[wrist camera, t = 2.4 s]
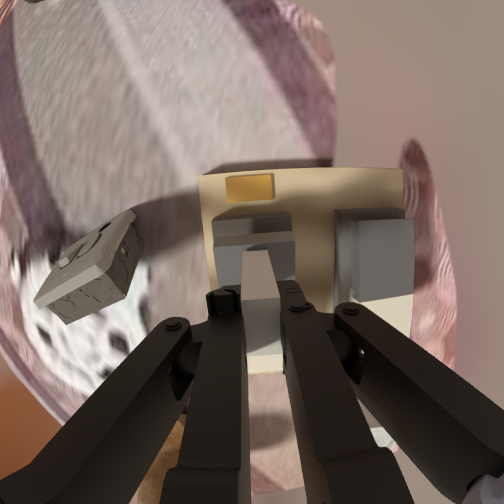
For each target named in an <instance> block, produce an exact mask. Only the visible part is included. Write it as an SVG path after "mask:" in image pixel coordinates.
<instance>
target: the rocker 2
mask: <svg viewBox="0 0 504 504" xmlns="http://www.w3.org/2000/svg"><path fill="white" fill-rule="evenodd" d="M350 224H351V245H352V287H351V288H350V289H349V301H350V302H355V303H359V304H362V305H364V306H365V307H367V308H368V309H370V310H371V311H372V312H374V313H375V314H376V315H378V316H379V317H381V318H382V319H383V320H385V321H386V322H388V323H389V324H390V325H392V326H393V327H394V328H396V329H397V330H399V331H400V332H401V333H403V334H404V335H405V336H407V337H408V338H409V335H410V327H411V317H412V306H413V292H414V268H415V236H414V219H380V220H359V221H350ZM362 353H363V351H362ZM363 354H364V353H363Z"/></svg>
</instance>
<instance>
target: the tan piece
mask: <svg viewBox="0 0 504 504" xmlns="http://www.w3.org/2000/svg"><path fill="white" fill-rule="evenodd" d="M186 416H187V415H185V414H182V413H181V415H180V416H179V418H178V420H177V422H176V423H175V425H174V427H173V429H172V430H171V432H170V434H169V436H168V437H167V439H166V441H165V443H164V444H163V446H162V448H161V450H160V451H159V453H158V455H157V457H156V458H155V460H154V462H153V463H152V465H151V467H150V469H149V470H148V472H147V474H146V475H145V477H144V479H143V481H142V482H141V484H140V486H139V491H138V504H159V502H160V497H161V491H162V486H163V481H164V478H165V475H166V472H167V471H168V469H169V468H173V467H175V466H176V465H177V462H178V457H179V452H180V447H181V441H182V436H183V431H184V426H185V421H186Z"/></svg>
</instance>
